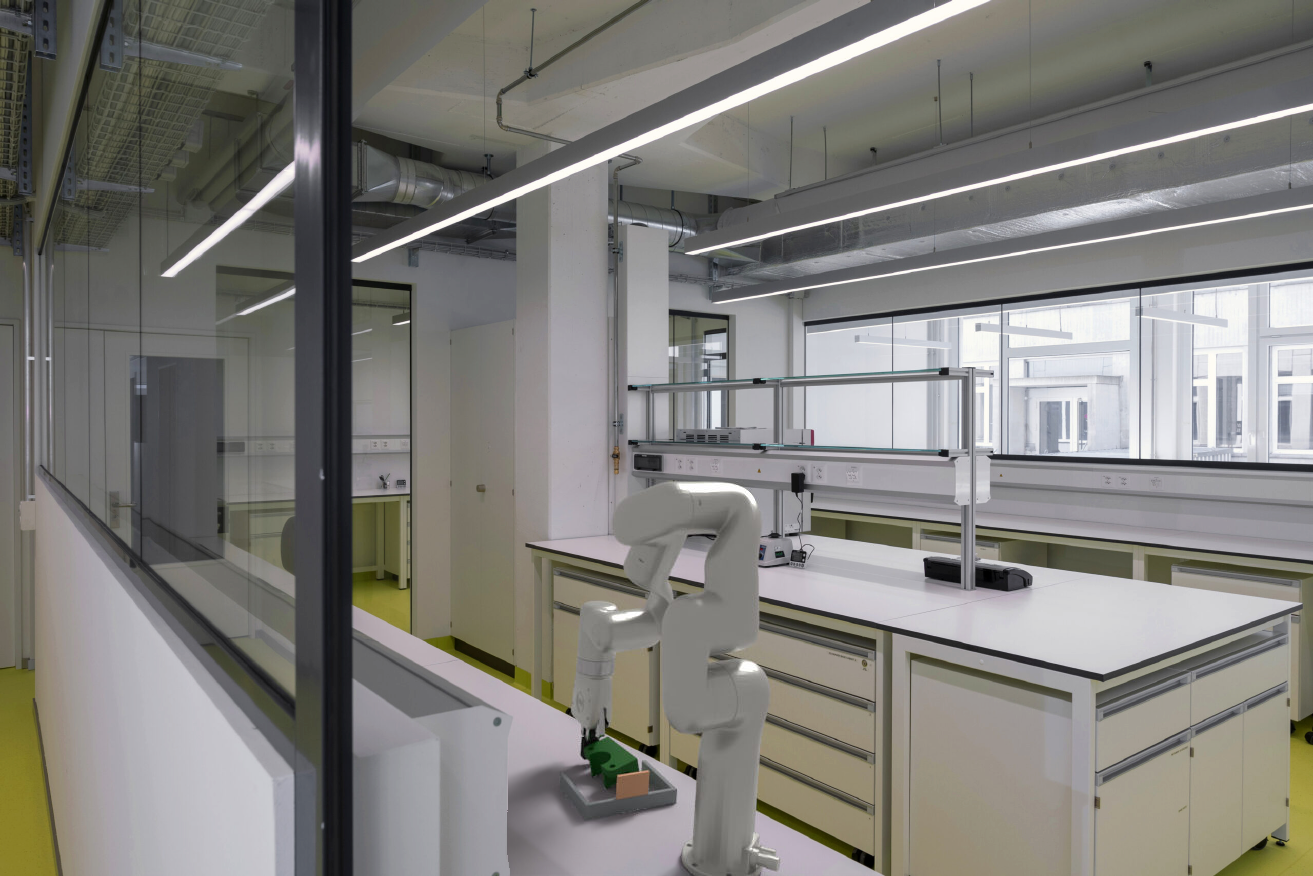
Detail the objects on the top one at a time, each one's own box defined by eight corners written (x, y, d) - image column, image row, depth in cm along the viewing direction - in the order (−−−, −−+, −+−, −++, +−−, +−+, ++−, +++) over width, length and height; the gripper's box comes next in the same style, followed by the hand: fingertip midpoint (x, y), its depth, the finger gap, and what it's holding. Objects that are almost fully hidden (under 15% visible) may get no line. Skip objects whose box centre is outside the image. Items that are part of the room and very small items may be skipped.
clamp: (593, 796, 150) (577, 749, 151) (619, 782, 153) (604, 736, 155) (618, 798, 140) (601, 748, 142) (646, 784, 143) (629, 735, 145)
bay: (559, 787, 143) (561, 752, 143) (644, 772, 151) (646, 739, 151) (585, 820, 132) (587, 782, 132) (676, 803, 140) (678, 767, 140)
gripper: (564, 655, 158) (558, 744, 159) (592, 679, 145) (585, 777, 145) (598, 652, 162) (592, 739, 162) (628, 676, 148) (622, 771, 149)
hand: (589, 757), depth 154 cm, fingers closed
